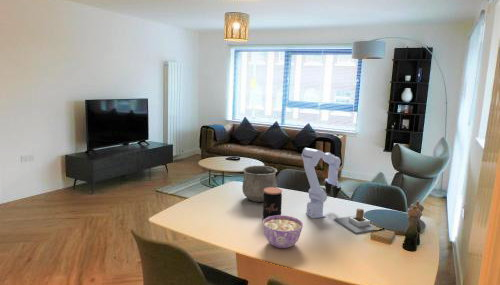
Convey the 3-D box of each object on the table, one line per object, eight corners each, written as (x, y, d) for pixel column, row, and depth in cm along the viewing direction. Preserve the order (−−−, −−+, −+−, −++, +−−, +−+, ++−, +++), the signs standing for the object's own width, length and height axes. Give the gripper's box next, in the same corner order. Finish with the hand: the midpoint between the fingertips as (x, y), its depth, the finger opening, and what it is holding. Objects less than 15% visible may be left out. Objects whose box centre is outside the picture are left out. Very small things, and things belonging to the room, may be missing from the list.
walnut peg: (358, 224, 206) (359, 211, 205) (353, 222, 210) (355, 209, 208) (364, 223, 208) (365, 210, 206) (359, 221, 211) (360, 208, 210)
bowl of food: (279, 258, 168) (280, 234, 166) (254, 241, 184) (254, 220, 182) (310, 247, 180) (311, 225, 178) (283, 232, 196) (284, 212, 193)
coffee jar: (259, 220, 211) (260, 191, 208) (267, 214, 220) (268, 186, 217) (276, 224, 206) (277, 194, 203) (283, 218, 216) (284, 189, 212)
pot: (235, 196, 251) (236, 166, 247) (264, 192, 262) (265, 163, 258) (252, 208, 229) (253, 176, 225) (283, 203, 240) (285, 172, 236)
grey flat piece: (355, 234, 196) (356, 228, 196) (334, 220, 215) (334, 214, 214) (384, 229, 204) (385, 223, 203) (361, 216, 222) (362, 210, 221)
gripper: (345, 177, 222) (343, 198, 225) (331, 171, 236) (330, 191, 238) (335, 178, 220) (334, 199, 222) (322, 172, 233) (321, 192, 236)
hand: (331, 195), depth 230 cm, fingers open, 7 cm apart
